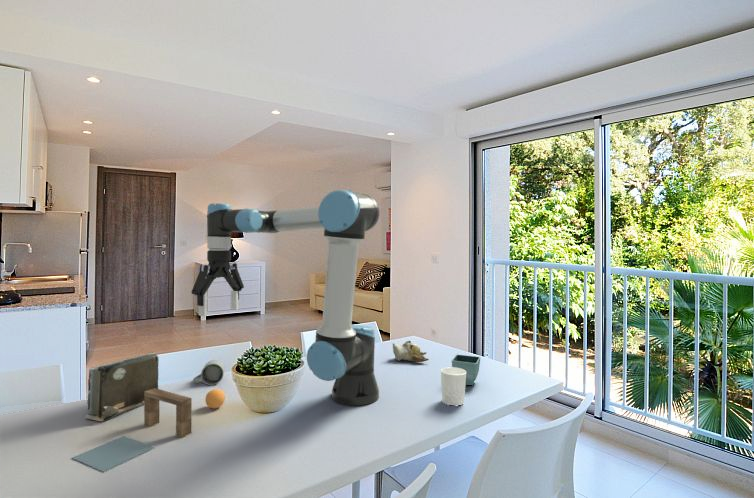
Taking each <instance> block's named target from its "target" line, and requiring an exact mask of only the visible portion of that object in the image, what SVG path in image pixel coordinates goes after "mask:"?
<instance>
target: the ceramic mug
mask: <svg viewBox="0 0 754 498" xmlns="http://www.w3.org/2000/svg"><path fill="white" fill-rule="evenodd" d="M225 369H226V368H225V365H224V363H223V362H222V361H221V360H218V359H212V360H209V361H208V362H207V363H205V364H204V367H202V369H201V373H200V374H198V375H196V376H195V377H194V378H193V379H192V381H193V383H194V384H199V383H201V382H202V383H204V384H206V385H208V386H215V385H218V384H219V383H221V381H222V380H223V379H224V374H225Z"/></svg>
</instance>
